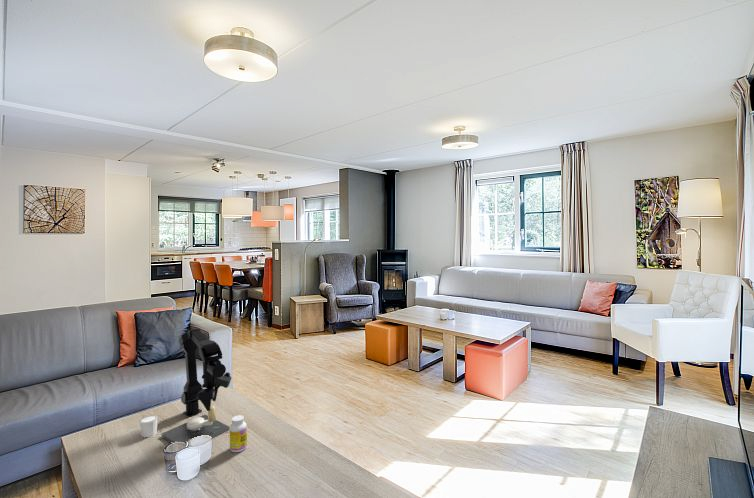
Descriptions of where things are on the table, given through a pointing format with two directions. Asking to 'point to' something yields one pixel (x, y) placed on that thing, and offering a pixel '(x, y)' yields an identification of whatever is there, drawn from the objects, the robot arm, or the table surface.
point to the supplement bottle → (238, 434)
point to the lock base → (189, 435)
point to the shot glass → (148, 426)
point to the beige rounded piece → (202, 420)
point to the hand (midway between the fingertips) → (211, 405)
